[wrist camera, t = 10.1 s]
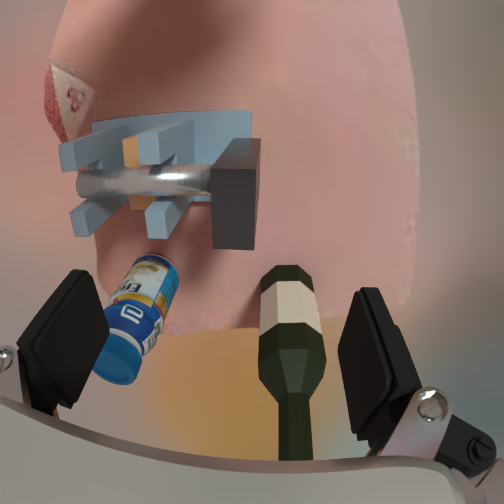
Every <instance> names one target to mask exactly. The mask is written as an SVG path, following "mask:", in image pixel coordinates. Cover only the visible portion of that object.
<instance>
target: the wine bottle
mask: <svg viewBox="0 0 504 504" xmlns="http://www.w3.org/2000/svg"><path fill="white" fill-rule="evenodd" d="M259 332H260V333H259V354H258V371H259V379H260V381H261V382H262V383H263V385H264V386H265V387H266V388H267V390H268V391H269V392H270V393H271V395H272V396H273V397H274V398H275V400H276V401H277V402H278V404H279V455H278V456H279V457H278V459H279V460H278V461H308V460H313V449H312V433H311V420H310V408H309V399H310V398H311V396H312V394H313V393H314V391H315V389H316V388H317V386H318V385H319V383H320V381H321V380H322V378H323V375H324V370H325V366H326V354H325V349H324V342H323V337H322V331H321V325H320V320H319V314H318V309H317V304H316V299H315V293H314V288H313V283H312V278H311V276H309V275H308V274H307V273H306V272H305V271H304V270H303V269H301V268H300V267H299V266H298V265H276V266H275V267H274V268H273V269H271V270H270V271H269V272H268V273H267V274H266V275H264V276H263V277H262V281H261V306H260V330H259Z"/></svg>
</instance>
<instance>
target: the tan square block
mask: <svg viewBox="0 0 504 504" xmlns="http://www.w3.org/2000/svg"><path fill="white" fill-rule="evenodd" d="M122 142H123V154H124V164H125V167H131V166H150V165H139V157H138V145H137V134H136V135H134V136H131V137H128V138H126V139H123V140H122ZM155 165H159V164H155ZM157 197H158V196H128V198H129V205H130V210H146V209H147V208H148V207H149V206H150V205H151V204H152V203H153V202H154V201H155V200H156V199H157Z"/></svg>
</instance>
